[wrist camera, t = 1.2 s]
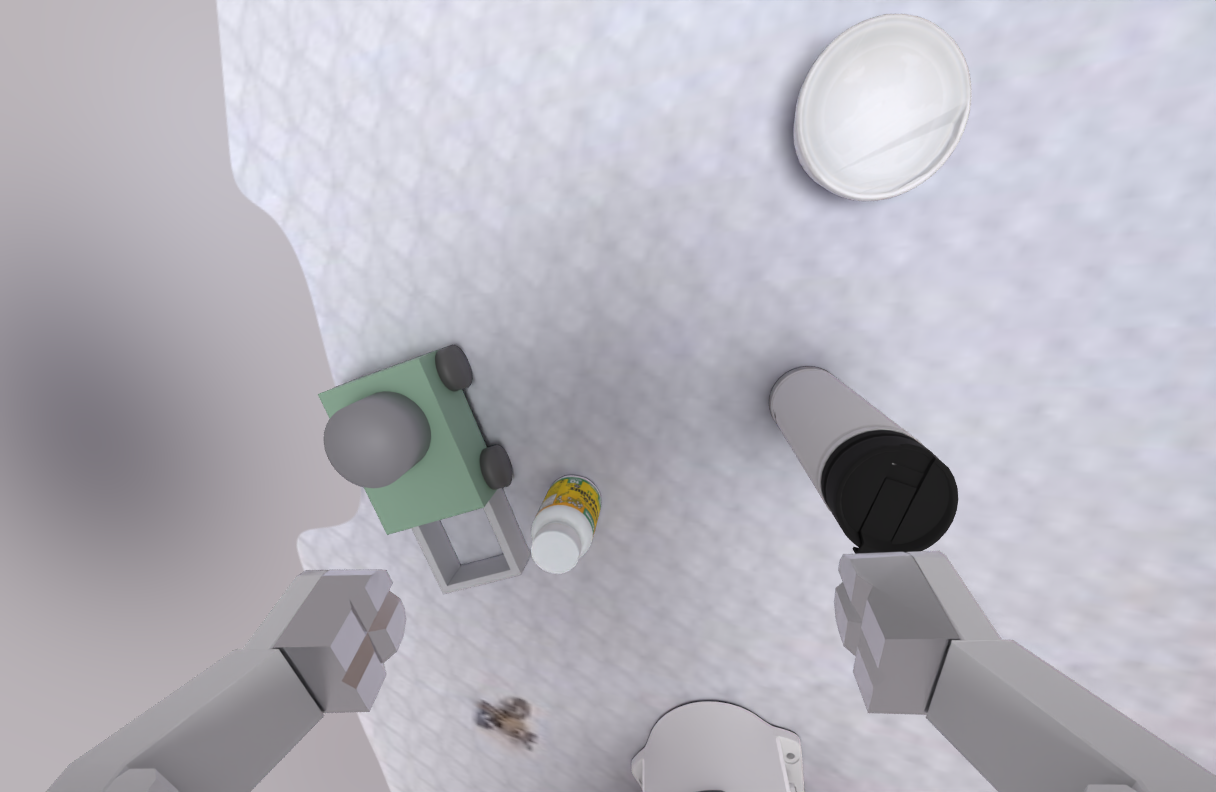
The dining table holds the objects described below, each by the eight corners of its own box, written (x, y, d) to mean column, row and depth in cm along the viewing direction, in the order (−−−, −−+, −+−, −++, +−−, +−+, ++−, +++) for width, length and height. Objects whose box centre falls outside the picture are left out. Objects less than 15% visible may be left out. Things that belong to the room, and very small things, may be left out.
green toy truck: (547, 550, 53) (519, 616, 43) (441, 577, 55) (393, 645, 46) (460, 341, 48) (406, 363, 38) (348, 381, 50) (271, 412, 41)
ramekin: (869, 233, 41) (896, 230, 36) (751, 158, 41) (762, 145, 36) (968, 96, 38) (1013, 72, 33) (842, 13, 38) (868, -23, 33)
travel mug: (756, 424, 47) (814, 543, 27) (785, 356, 45) (869, 433, 26) (822, 446, 46) (928, 582, 27) (854, 379, 44) (992, 474, 25)
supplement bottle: (537, 495, 51) (508, 548, 42) (575, 462, 50) (553, 510, 41) (575, 532, 52) (554, 593, 43) (613, 501, 50) (600, 556, 41)
